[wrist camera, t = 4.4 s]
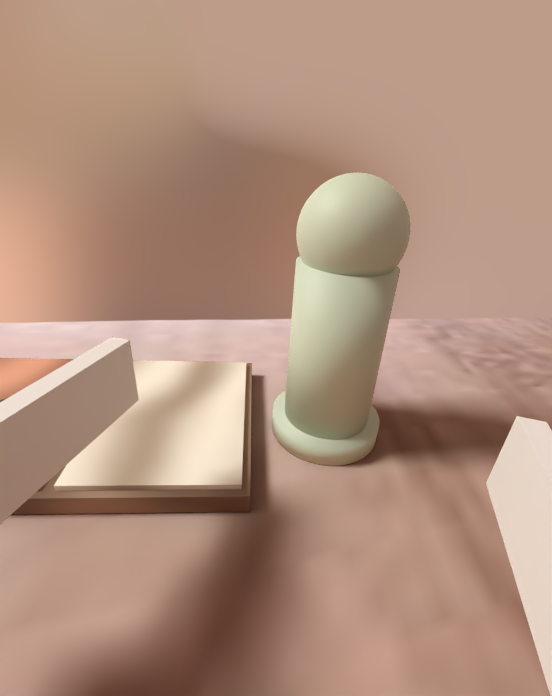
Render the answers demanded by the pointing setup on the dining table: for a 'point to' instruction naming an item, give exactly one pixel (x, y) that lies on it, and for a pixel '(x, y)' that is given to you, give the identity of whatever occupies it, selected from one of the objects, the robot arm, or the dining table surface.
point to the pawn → (340, 318)
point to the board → (156, 443)
